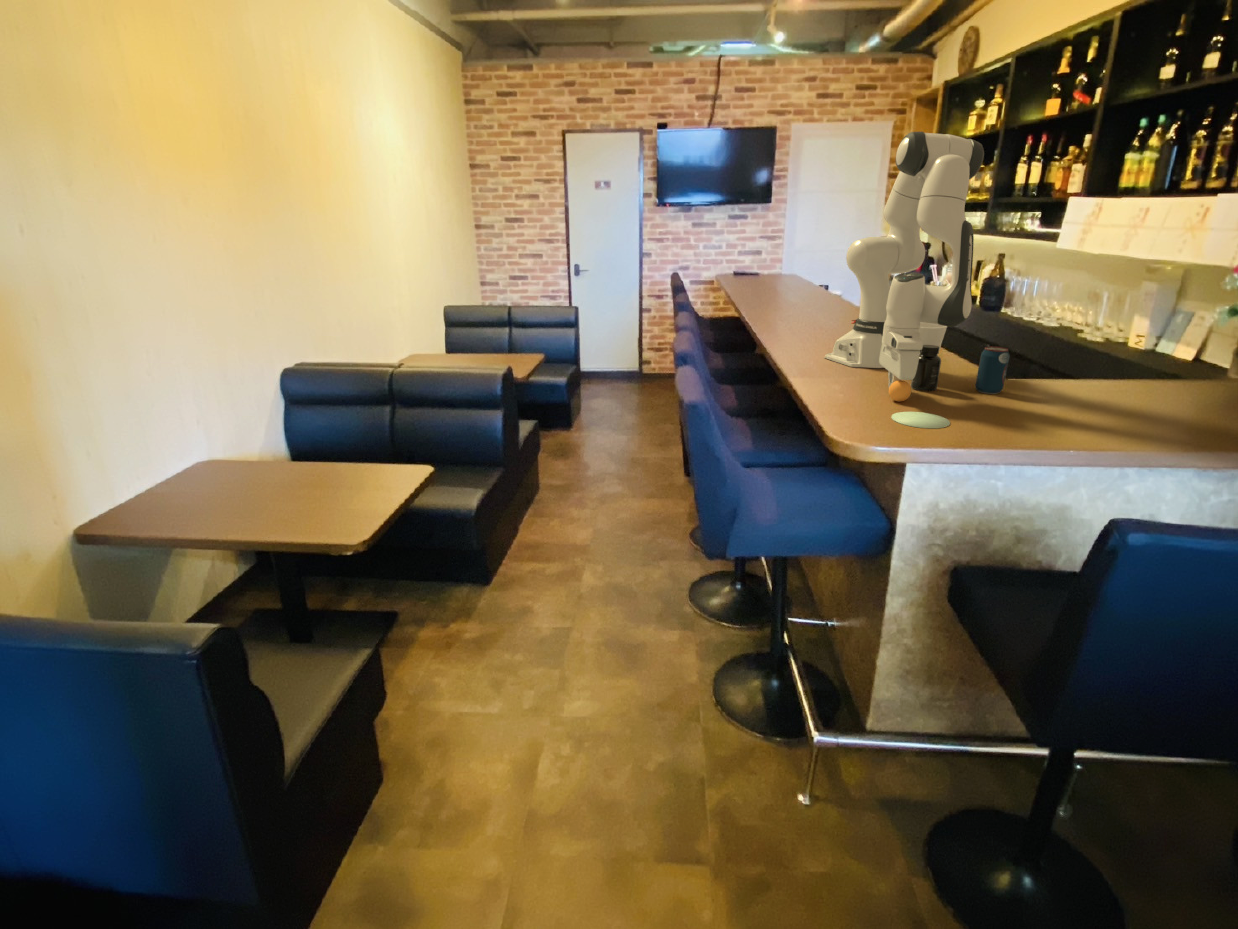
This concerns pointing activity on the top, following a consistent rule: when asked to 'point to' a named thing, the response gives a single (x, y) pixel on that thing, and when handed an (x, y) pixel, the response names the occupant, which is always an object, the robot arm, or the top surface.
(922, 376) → the supplement bottle
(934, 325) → the cup
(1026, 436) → the top surface
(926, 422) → the pale green disc
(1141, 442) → the top surface
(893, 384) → the ball
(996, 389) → the soda can
